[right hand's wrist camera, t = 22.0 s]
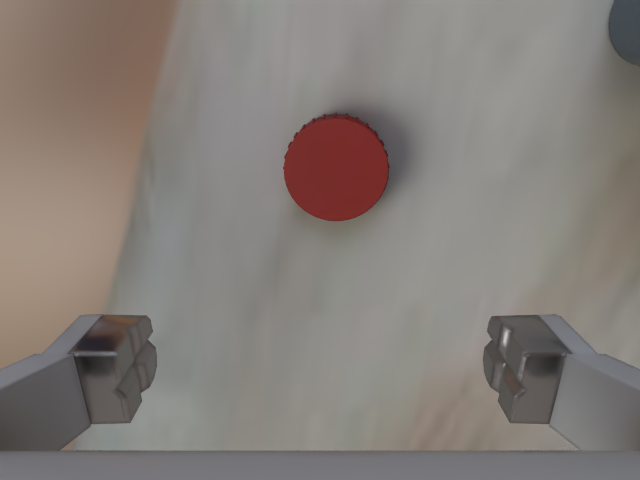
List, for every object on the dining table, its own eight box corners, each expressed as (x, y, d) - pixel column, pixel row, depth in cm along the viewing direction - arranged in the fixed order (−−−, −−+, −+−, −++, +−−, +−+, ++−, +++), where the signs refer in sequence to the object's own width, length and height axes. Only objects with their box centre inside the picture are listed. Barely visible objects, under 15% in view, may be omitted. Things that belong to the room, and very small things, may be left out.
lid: (390, 206, 24) (393, 216, 22) (294, 217, 24) (291, 228, 23) (382, 106, 22) (385, 109, 20) (278, 120, 22) (273, 125, 21)
